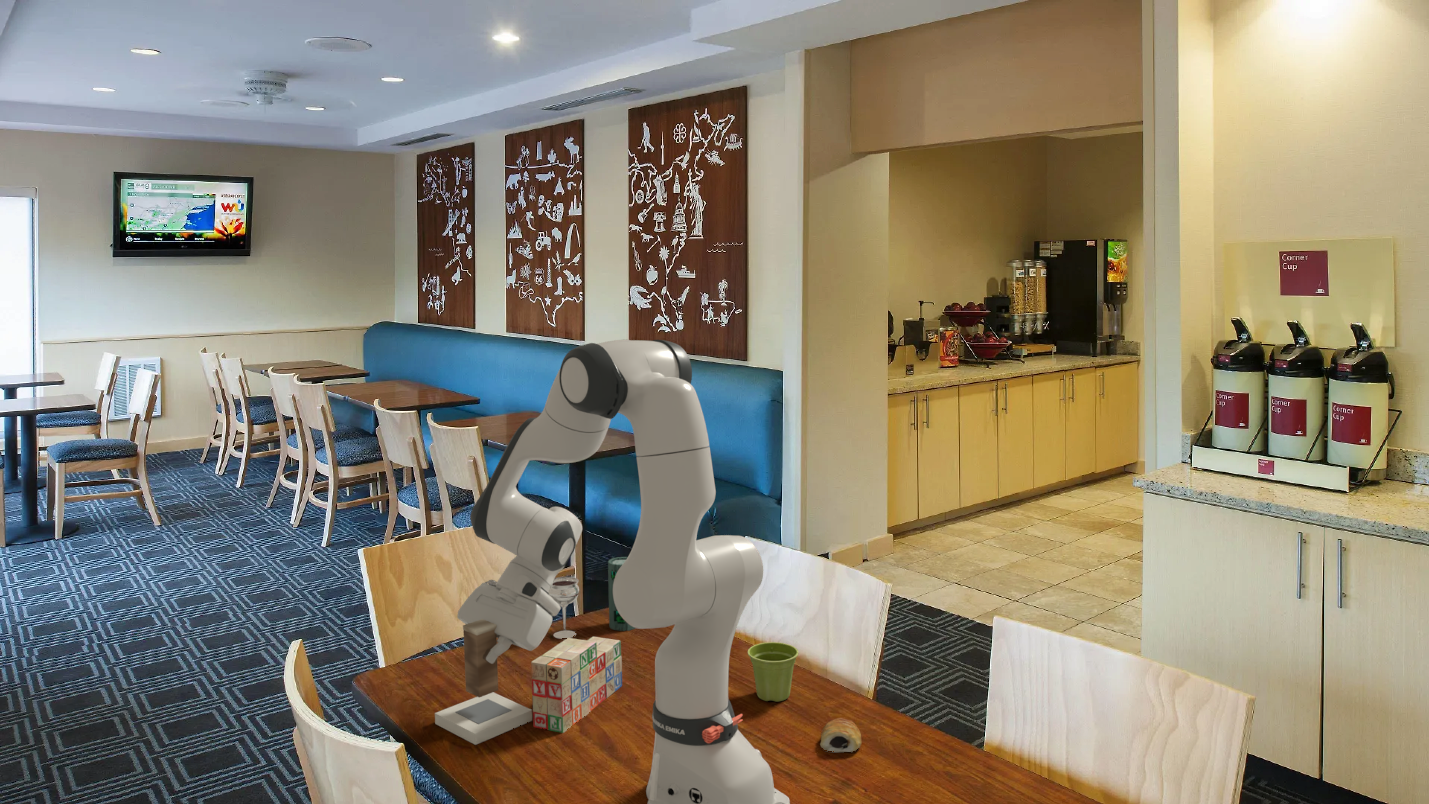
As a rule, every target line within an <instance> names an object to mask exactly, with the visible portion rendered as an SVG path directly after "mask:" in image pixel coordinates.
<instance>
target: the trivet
mask: <svg viewBox="0 0 1429 804" xmlns="http://www.w3.org/2000/svg"><path fill="white" fill-rule="evenodd" d="M527 722H528V723H530V722H533V709H531V708H528V707H527V706H525V705H522V704H520V703H518V702H515V701H513V700H511V699H509V698H507V697H506V696H505V697H504V696H502V695H500V694H498V693H496V692H492V693H490V694H487V695H485V696H482V697H480V698H479V697H477V696H475V697H473V698H470V699H468V700H465V701H463V702H460V703H457V704H455V705H452V706H449V707H447V708H444V709H442V710H439V711H437V712H434V723H435V725H437V726H439V727H441V728H443V729H444V730H446V731H448V732H450V733H451V734H454V735H456V736H458V737H460V738H462V739H463V740H465V741H467V742H469V743H471V744H473V745H475V746H477V745H478V744H481V743H483V742H486V741H488V740H490V739H493V738H495V737H497V736H499V735H501V734H505V733H506V732H509V731H511V730H513V728H514V729H516V728H518V727H520V725H521V726H523V725H525V724H527Z"/></svg>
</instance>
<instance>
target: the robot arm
mask: <svg viewBox="0 0 1429 804" xmlns="http://www.w3.org/2000/svg"><path fill="white" fill-rule="evenodd" d="M692 380H693V369H692V363H691V359H690V357H689V355H688V354H687V351H685V349H684V348H683V347H682V346H681V345H680V344H678V343H675V342H672V341H668V340H663V339H653V340H644V339H643V340H641V339H640V340H638V339H636V340H635V339H633V340H632V339H631V340H630V339H615V340H609V341H604V342H599V343H595V342H594V343H593V342H589V343H585V344H582V345H579V346H577V347H575V348H572V349H571V350H569V351H567V353H566V354H565V356H564V357H563V359H562V361H561V365H560V367H559V369H558V372H557V373H556V376H555V378H554V380H553V382H552V385H551V387H550V390H549V391H548V395H547V398H546V401H545V404H544V407H543V410H542V411H541V412H540V414H539V415H538V416H537V417H529V418H527V419H526V420H525V421H524V422H522V424H521V425H520V426H519V427H518V428H517V429H516V430H515V432H514V434H513V435H512V437H511V438H510V441H509V442H508V443H507V446H506V447H505V449H504V452H503V453H502V455H501V457H500V459H499V461H498V463H497V465H496V467H495V469H494V471H493V472H492V474H491V477H490V478H489V481H488V483H487V485H486V486H485V488H484V490H483V491H482V492H481V494H480V496H479V497H478V499H477V500H476V502H475V504H474V505H473V508H472V509H471V512H470V515H469V516H470V517H469V518H470V523H471V527H472V529H473V532H474V534H475V536H476V537H477V538H479V539H482V540H484V541H486V542H489V543H491V544H493V545H496V546H499V547H500V548H502V549H504V550H506V551H508V552H510V553H511V554H513V555H516V556H515V557H514V558H512V560H510V562H509V563H508V565H507V566H506V568H505V569H504V571H503V572H502V573H501V575H500V577H499V578H498V580H497V581H496V580H494V579H488V581H485V582H482V583H481V584H480V585H479V586H477V587H476V588H475V589H474V590H473V591H472V592H471V593H470V594H469V596H468V597H467V599H466V600H465V601H464V602H463V604H462V605H461V606H460V607H459V608H458V611H457V616H456V617H457V619H458V620H459V621H460V622H462V623H463V624H464V625H466V624H469V623H472V622H475V621H478V620H481V619H483V620H486V621H489V622H491V623H494V624H496V629H495V631H494V632H495V634H496V638H497V644H496V645H495V646H494V647H493V648H492V649H490V650H489V649H487V650H486V652H485V654H484V655H483V659H484V660H485V661H487V662H489V663H491V664H493V663H494V662H495V660H496V659H497V660H498V658H499V657H500V656H501V655H502V654H503V653H505V652H506V651H508V650H509V648H510V647H511V645H514V646H517V647H519V648H522V649H525V650H527V651H530V652H532V651H533V650H535V649H537V648H538V647H539V646H540V644H541V642H542V641H543V639H545V637H546V635H547V633H548V631H549V630H550V627H551V625H552V623H553V617H556V616H557V615H558V614H559V612H560V610H561V609H562V607H561V606H560V605H559V604H558V603H557V602H556V601H555V600H554V599H553V598H552V597H551V596H550V595H549V593H548V592H549V590H550V589H551V587H552V585H553V581H554V578H557V577H556V576H557V575H558V574H559V573H560V572H561V571H563V569H564V568H565V567H566V565H567V563H568V562H569V560H570V559H571V556H572V555H573V553H574V552H575V549H576V546H577V544H578V541H579V540H580V537H581V534H582V532H583V524H582V522H581V521H580V519H579V518H578V517H577V516H576V515H575V514H574V513H573V512H571V511H570V510H568V509H566V508H564V507H562V506H552V507H550V508H547V507H544V506H542V505H540V504H539V503H536V502H535V501H532V500H530V499H529V498H527V497H525V496H523V494H521V493H520V491H518V488H517V484H518V483H519V481H520V480H521V478H522V475H523V473H524V471H525V470H526V467H527V466H528V464H529V463H530V461H543V462H544V461H546V462H550V463H551V462H552V463H556V464H570V463H571V464H572V463H576V462H582V461H584V460H586V459H588V458H590V457H592V456H593V455H594V454H596V452H598V451H599V449H600V447H601V446H602V444H603V442H604V440H605V438H606V436H607V433H608V430H609V427H610V424H611V422H612V421H611V420H613V419H614V418H615V417H616V416H617V414H620V415H623V416H624V417H625V418H626V419H627V420H628V421H629V423H630V425H631V427H632V432H633V437H634V438H633V439H634V447H635V456H636V464H637V471H638V480H639V490H640V493H639V494H640V517H639V518H640V519H639V524H638V530H637V533H636V537H635V540H634V543H633V545H632V548H631V551H630V552H629V554H628V556H627V557H628V558H627V559H626V561H625V562H624V564H623V565H622V566H621V567H620V568H619V570H618V571H617V573H616V576H615V579H614V584H613V598H614V603H615V606H616V608H617V610H618V612H619V614H620V615H621V617H622V618H623V619H624V620H625V621H626V622H627V623H628V624H629V625H631V626H632V627H634V628H635V629H639V630H641V629H643V630H646V629H659V628H660V629H661V628H668V627H671V626H673V628H672V630H671V631H670V633H669V635H668V636H667V637H666V638H665V640H664V641H663V642H662V643H661V644H660V645H659V647H658V649H657V652H656V654H655V660H654V682H655V683H654V685H655V686H654V687H655V688H654V690H655V691H654V692H655V700H653V703H652V704H653V705H652V714H651V719H652V728H653V730H654V732H655V733H654V734H655V735H654V744H653V753H652V761H651V768H650V769H651V770H650V775H649V778H648V782H647V786H646V789H645V793H646V797H647V799H648V800H647V804H791V801H790V798H789V796H787V795H786V794H785V793H783V792H781V791H779V789H777V788H775V787H774V786H775V785H774V777H773V773H772V769H771V767H770V764H769V763H768V762H767V761H766V760H765V758H763V756H762V752H761V751H760V750H759V749H758V748H755V747H754V746H753V745H752V744H751V742H749V741H748V739H747V738H746V737H745V735H743V734H742V733H741V731H740V730H739V725H738V724H739V723H741V722H742V721H744V720H743V719H741V718H742V717H743V713H740V714H738V715H736V716H735V712H734V709H733V705H732V703H731V701H730V699H729V671H730V670H729V669H730V668H729V667H730V665H729V664H730V655H731V651H732V649H731V648H732V644H733V640H734V637H735V634H736V631H737V629H738V628H737V627H738V624H739V623H740V619H741V617H742V615H743V613H744V610H745V608H746V606H747V604H748V603H749V601H750V600H751V599H752V597H753V596H754V594H755V593H756V592H757V591H758V590H759V588H760V587H761V585H762V582H763V579H764V565H763V559H762V556H761V554H760V552H759V550H758V549H757V547H756V546H755V544H754V543H753V542H752V541H751V540H750V539H748V538H746V537H745V536H742V535H731V534H730V535H729V534H728V535H727V534H726V535H725V534H724V535H712V536H708V537H704V538H701V539H697V537H698V536H697V535H698V531H699V526H700V525H701V521H702V519H703V517H704V516H705V514H706V513H707V512H708V511H709V510H710V508H712V506H713V504H714V502H715V499H716V496H717V495H716V493H717V491H716V484H715V478H714V477H715V476H714V469H713V468H714V467H713V461H712V455H711V448H710V440H709V434H708V429H707V425H706V424H707V423H706V420H705V416H704V413H703V409H702V405H701V402H700V400H699V397H698V394H697V392H696V389H695V387H694V386H693V385H692Z"/></svg>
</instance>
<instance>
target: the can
mask: <svg viewBox="0 0 1429 804" xmlns="http://www.w3.org/2000/svg"><path fill="white" fill-rule="evenodd" d="M627 558H628V556H620V557H618V556H617V557H612V558H610V559H609V560H608V561H607V571H608V572H607V574H608V575H607V576H608V577H607V578H608V579H607V581H608V582H607V583H608V616H609V617H608V620H609V621H608V622H609V628H610V629H611V630H614V631H618V632H619V631H620V632H625V631H628V632H630V631H632V630H635V629H636V628H634V627H632V626H631V625H629V624H628V623H627V622H626V621H625V620H624V619H623V618H622V617H621V615H620V614H619V612H618V610H617V608H616V606H615V603H614V598H613V584H614V579H615V576H616V573H617V571H618V570H619V568H620V567H621V566H622V565H623V564H624V562H625V561H626V559H627Z"/></svg>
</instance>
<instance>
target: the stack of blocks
mask: <svg viewBox="0 0 1429 804" xmlns="http://www.w3.org/2000/svg"><path fill="white" fill-rule="evenodd" d="M621 644H622V643H621V640H619V639H611V638H607V637H606V638H605V637H599V636H592V637H590V638H589V639H587V640H586V639H577V638H573V637H571V638H567V639H563V641H561V642H560V643H558V644H556V645H555V646H554V647H552V648H550V649H549V650H548V651H546V652H545V653H543V654H542V655H540V656H538V657H537V658H535V659H534V660H532V661H531V663H530V664H531V694H532V723H533V725H532V727H533V728H537V729H541V730H542V728H543V730H545V729H547V731H551V732H555V733H556V732H557V733H561V734H564V733H565V732H567V731H568V730H569V729H570V728H572V727H573V726H574V724H575V723H576V722H577V723H578V722H580V721H581V720H582V719H583V718H585V717H586V716H588V714H590V713H591V712H592V711H593V710H594V709H595V708H596V707H598V706H599V705H600V704H601V703H603V702H604V701H605V700H606V699H608V698H609V697H610V696H611V695H613V694H614V693H615V692H616V691H618V690H619V689H621V688H622V686H623V661H622V660H623V657H622V645H621ZM589 712H590V713H589ZM584 716H585V717H584ZM580 719H581V720H580ZM579 720H580V721H579ZM577 723H576V724H577ZM576 724H575V725H576ZM572 725H573V726H572ZM571 726H572V727H571ZM568 728H569V729H568ZM567 729H568V730H567Z"/></svg>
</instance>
